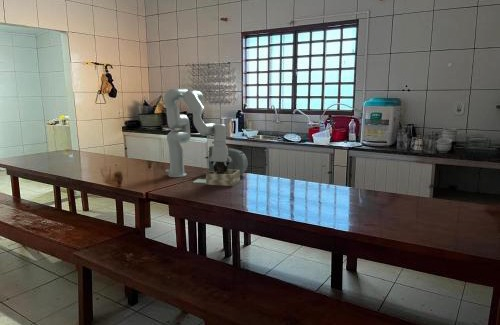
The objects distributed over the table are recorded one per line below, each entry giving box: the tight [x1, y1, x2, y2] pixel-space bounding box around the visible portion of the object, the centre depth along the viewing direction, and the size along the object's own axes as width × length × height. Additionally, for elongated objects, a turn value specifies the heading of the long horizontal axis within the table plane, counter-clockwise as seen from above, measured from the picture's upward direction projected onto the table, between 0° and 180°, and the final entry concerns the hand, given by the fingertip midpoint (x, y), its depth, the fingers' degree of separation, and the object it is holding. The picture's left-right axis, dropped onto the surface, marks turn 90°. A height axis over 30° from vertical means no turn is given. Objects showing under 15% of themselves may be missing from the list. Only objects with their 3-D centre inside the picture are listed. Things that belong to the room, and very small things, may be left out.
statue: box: [217, 162, 225, 174], centre depth 230 cm, size 7×7×20 cm
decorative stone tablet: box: [207, 145, 249, 176], centre depth 252 cm, size 19×6×30 cm
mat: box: [192, 178, 206, 184], centre depth 235 cm, size 9×9×1 cm
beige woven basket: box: [205, 169, 241, 187], centre depth 231 cm, size 18×15×7 cm
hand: (220, 171), depth 231 cm, fingers closed on statue, 6 cm apart
